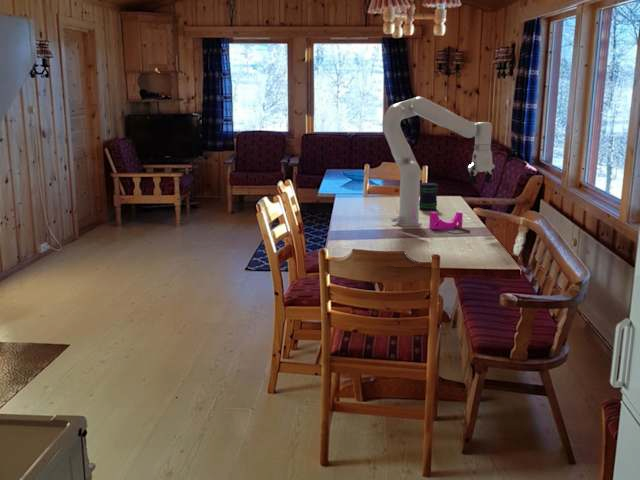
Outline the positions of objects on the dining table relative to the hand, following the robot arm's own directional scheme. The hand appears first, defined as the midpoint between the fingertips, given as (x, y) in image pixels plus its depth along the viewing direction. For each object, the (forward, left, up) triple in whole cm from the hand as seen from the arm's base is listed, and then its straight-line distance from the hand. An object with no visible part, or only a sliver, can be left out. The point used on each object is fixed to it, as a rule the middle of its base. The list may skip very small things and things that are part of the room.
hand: (480, 183), depth 315 cm
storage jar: (+8, +46, -21) cm, 51 cm away
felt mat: (-22, -1, -21) cm, 30 cm away
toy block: (-21, +1, -21) cm, 29 cm away
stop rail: (-17, -1, -21) cm, 27 cm away
